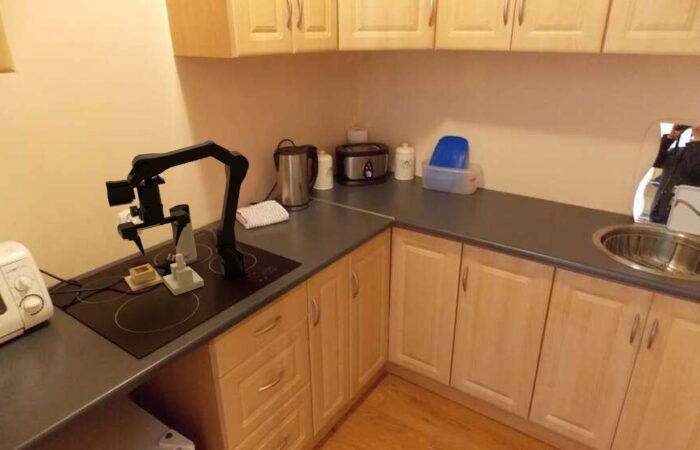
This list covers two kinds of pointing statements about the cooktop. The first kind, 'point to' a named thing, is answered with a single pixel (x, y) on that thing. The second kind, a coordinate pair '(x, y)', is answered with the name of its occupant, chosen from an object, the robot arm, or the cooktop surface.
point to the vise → (182, 277)
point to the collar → (142, 274)
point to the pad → (143, 285)
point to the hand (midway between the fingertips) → (159, 250)
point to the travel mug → (186, 238)
